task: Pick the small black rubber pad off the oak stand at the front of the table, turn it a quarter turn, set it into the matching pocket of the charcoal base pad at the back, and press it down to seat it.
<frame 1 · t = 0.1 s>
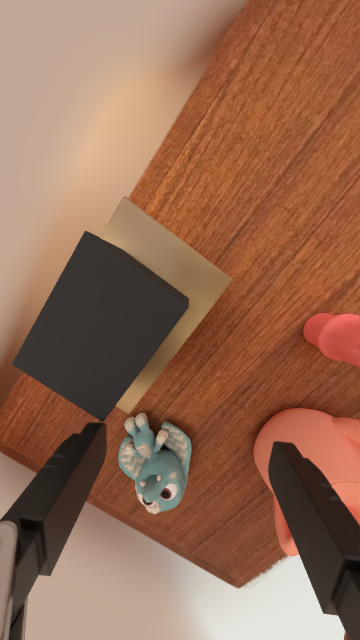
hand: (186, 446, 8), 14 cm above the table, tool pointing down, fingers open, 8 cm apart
figurine: (317, 329, 21), on the table
teapot: (298, 435, 24), on the table
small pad: (126, 319, 12), point 10 cm above the table, touching oak stand
stuffed animal: (156, 440, 26), on the table
oak stand: (154, 302, 21), on the table
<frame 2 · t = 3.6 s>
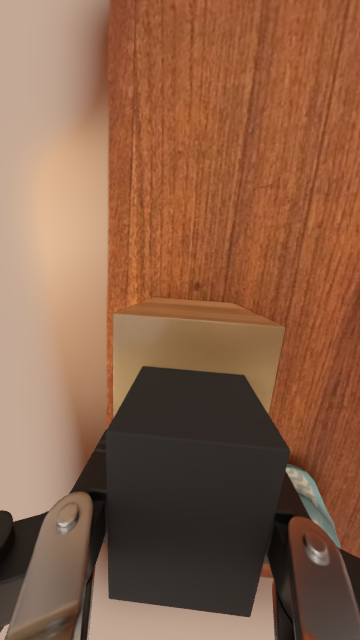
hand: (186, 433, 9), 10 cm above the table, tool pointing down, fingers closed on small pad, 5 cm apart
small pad: (187, 430, 9), point 10 cm above the table, touching gripper, oak stand
stuffed animal: (268, 484, 22), on the table
oak stand: (188, 355, 19), on the table
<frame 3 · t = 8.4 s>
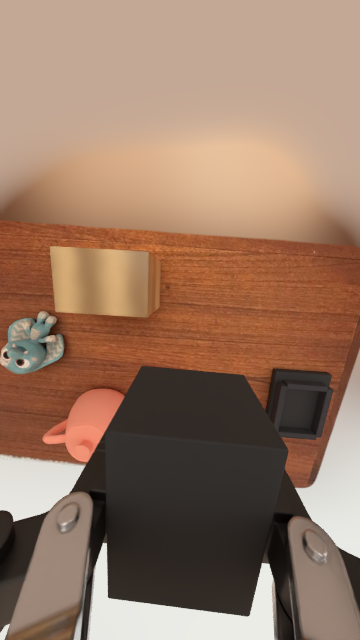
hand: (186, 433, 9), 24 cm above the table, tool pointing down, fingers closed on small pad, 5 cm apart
base pad: (293, 402, 35), on the table
teapot: (112, 409, 37), on the table
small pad: (186, 430, 9), point 24 cm above the table, touching gripper
stuffed animal: (44, 338, 35), on the table
oak stand: (126, 283, 32), on the table
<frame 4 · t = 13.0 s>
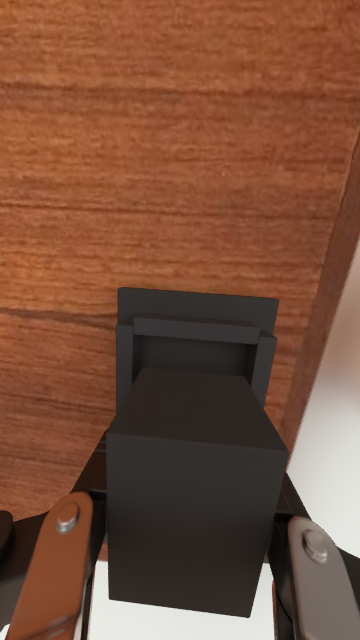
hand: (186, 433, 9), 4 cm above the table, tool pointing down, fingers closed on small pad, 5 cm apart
base pad: (188, 385, 14), on the table
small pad: (187, 431, 9), point 4 cm above the table, touching gripper
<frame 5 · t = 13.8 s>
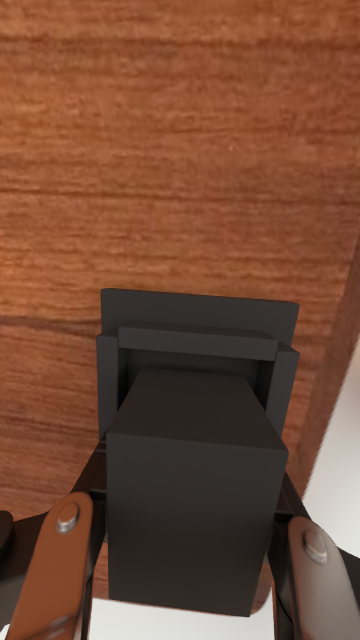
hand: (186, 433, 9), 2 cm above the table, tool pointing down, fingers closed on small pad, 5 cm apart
base pad: (187, 403, 11), on the table
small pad: (187, 431, 9), point 2 cm above the table, touching gripper
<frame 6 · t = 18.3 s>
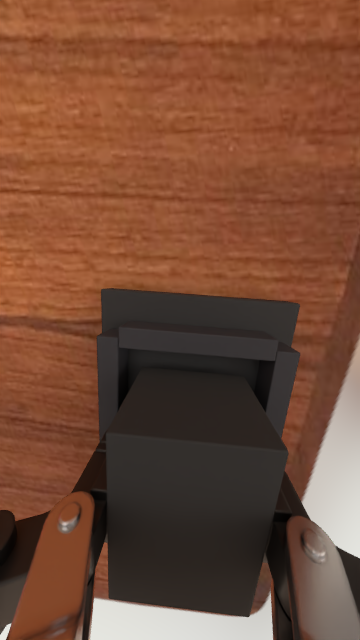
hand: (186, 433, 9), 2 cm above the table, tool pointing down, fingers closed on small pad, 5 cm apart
base pad: (187, 403, 11), on the table
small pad: (186, 431, 9), point 2 cm above the table, touching gripper
when the fingers open (3 cm above the table, at t = 22.2 s): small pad drops 2 cm, resting on base pad.
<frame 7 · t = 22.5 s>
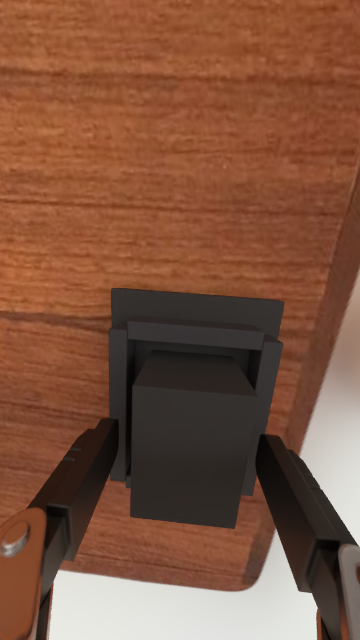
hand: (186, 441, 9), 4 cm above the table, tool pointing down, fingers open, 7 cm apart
base pad: (187, 391, 13), on the table
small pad: (188, 402, 12), point 1 cm above the table, touching base pad
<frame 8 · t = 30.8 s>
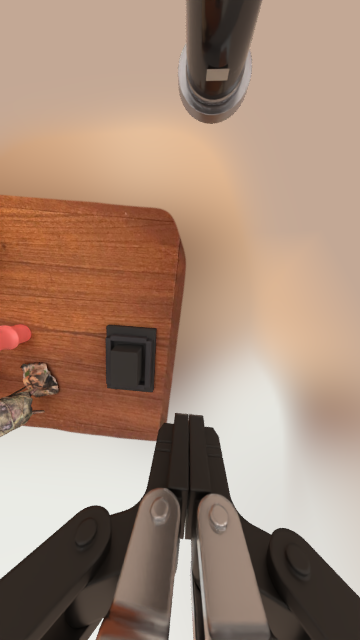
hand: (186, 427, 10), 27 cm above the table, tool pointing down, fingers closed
base pad: (132, 357, 38), on the table
figurine: (22, 332, 38), on the table
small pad: (130, 360, 37), point 1 cm above the table, touching base pad
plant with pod: (43, 382, 41), on the table
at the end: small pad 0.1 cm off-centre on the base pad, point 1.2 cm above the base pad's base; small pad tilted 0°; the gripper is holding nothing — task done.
